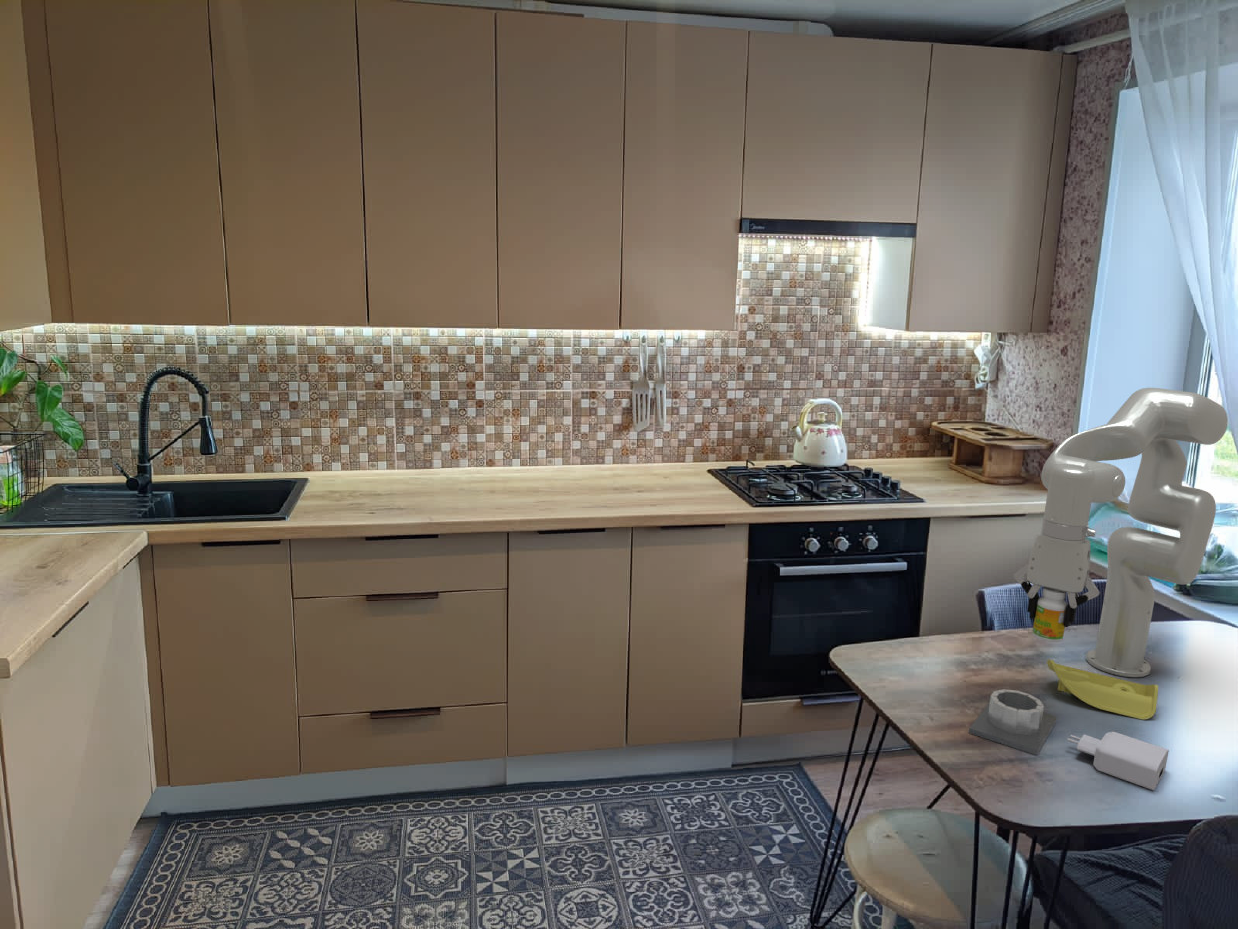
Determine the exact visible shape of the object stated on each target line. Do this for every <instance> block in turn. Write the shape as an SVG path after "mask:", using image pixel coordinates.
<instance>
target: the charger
mask: <svg viewBox="0 0 1238 929" xmlns="http://www.w3.org/2000/svg"><path fill="white" fill-rule="evenodd" d="M1074 739H1075V740H1074ZM1067 742H1071V743H1073V744H1076V745H1077V746H1076V750H1077V751H1079V752H1082V753H1084V754H1085V753H1086V754H1088V755H1090V756H1094V757H1093V758H1094V759H1093V767H1094V768H1095V769H1096V770H1097V771H1098V772H1101V773H1104V774H1106V775H1109V776H1113V777H1115V778H1118V779H1121V780H1123V781H1127V782H1129V783H1132V784H1134V785H1137V786H1140V787H1143V788H1146V789H1149V790H1151V791H1155V789H1157V786H1158V784H1159V782H1160V781H1161V778H1162V777H1163V775H1164V773H1165V771H1166V768H1167V762H1168V756H1169V751H1170V750H1169V749H1167V748H1164V747H1161V746H1157V745H1155V744H1151V743H1149V742H1146V741H1143V740H1140V739H1137V738H1133V737H1131V736H1129V735H1125V734H1122V733H1119V732H1117V731H1116V732H1115V731H1110V732H1106V733H1105V734H1104V735H1103V737H1102V738H1101V739H1098V738H1095V737H1093V736H1090V735H1087V734H1082V736H1081V737H1079V736H1075V735H1072V734H1070V735H1069V737H1068V738H1067Z"/></svg>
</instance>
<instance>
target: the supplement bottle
mask: <svg viewBox="0 0 1238 929" xmlns="http://www.w3.org/2000/svg"><path fill="white" fill-rule="evenodd" d="M1066 596H1067V592H1065V591H1060V590H1056V589H1051V588H1047V587H1043V588H1042V596H1039V597H1040V598H1039V599H1038V601H1037V606H1036V613H1035V618H1033V619H1034V620H1033V626H1032V635H1033V636H1034V637H1035V638H1036V639H1039V640H1041V641H1045V642H1049V643H1058V642H1059V643H1060V642H1062V641H1063V639H1064V633H1065V628H1066V627H1064V626H1063V625H1064V619H1065V613H1066V607H1067V606H1068V605H1069V603H1068V602H1067V601H1065V599H1066Z"/></svg>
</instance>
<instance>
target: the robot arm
mask: <svg viewBox="0 0 1238 929" xmlns="http://www.w3.org/2000/svg"><path fill="white" fill-rule="evenodd" d="M1228 423H1229V421H1228V413H1227V411H1226V409H1225V408H1224V407H1223V405H1221V404H1220V403H1218V402H1216V401H1215V400H1212V399H1210V398H1209V397H1206V396H1204V395H1202V394H1200V393H1196V392H1192V391H1191V392H1190V391H1183V390H1176V389H1167V388H1159V387H1145V388H1141V389H1138V390H1136V391H1134V392H1133V393H1131V395H1130V396H1129V397H1128V398H1127V399H1126V400H1125V401H1124V403H1123V404H1122V405H1121V406H1120V407H1119V409H1118V410H1117V411H1116V412H1115V413H1114V414H1113V416H1112V417H1111V418H1110V419H1109V421H1108V422H1107V423H1106V424H1103V425H1099V426H1095V427H1093V428H1090V429H1086V430H1083V431H1081V432H1079V433H1076V434H1072V435H1071V436H1068V437H1066V438H1065V439H1064V440H1063V441H1062V442H1060V443H1059V445H1058V446H1057V447H1056V448H1055V449H1054V450H1053V452H1052V453H1051V454H1050V455H1049V456H1048V458H1047V459H1046V461H1045V463H1044V464H1043V467H1042V470H1041V476H1040V477H1041V478H1040V479H1041V483H1042V486H1044V487H1045V488H1046V489H1047V494H1046V500H1045V505H1044V513H1043V519H1042V527H1041V530H1040V531H1038V532H1037V534H1036V537H1035V539H1034V542H1033V545H1032V549H1031V552H1030V555H1029V560H1028V564H1026V565H1025V566H1023V567H1022V568H1021V569H1019V570H1017V571H1015V573H1014V574H1013V578H1014V579H1015V580H1016V582H1018V584H1019V585H1020V586H1021V588H1022V589H1023V590H1024V592H1025V593H1026V595H1027V597H1028V598H1029V599H1028V603H1027V613H1029V619H1032V620H1033V619H1035V613H1036V606H1037V601H1038V599H1039V598H1040V597H1041V596H1040V595H1039V591H1040V589H1041V588H1042V587H1043V588H1044V587H1047V588H1051V589H1056V590H1060V591H1065V592H1066V595H1067V598H1068V606H1067V607H1066V613H1065V619H1064V625H1063V626H1064V627H1065V628H1069V626H1070V625H1071V624H1074V622H1075V621H1076V620H1075V619H1076V613H1077V608H1078V607H1079V606H1081V605H1083V604H1084V603H1085V604H1086V602H1088V601H1090V600H1092V599H1095V598H1097V597H1098V596H1099V595H1100V593H1101V592H1100V590H1099V589H1098V587H1097V586H1096V584H1095V583H1094V581H1093V580H1092V579H1091V577H1090V567H1091V541H1090V539H1088V538H1092V537H1093V538H1095V537H1096V534H1097V532H1096V531H1097V530H1096V529H1092V528H1090V523H1089V521H1090V520H1089V519H1090V515H1091V513H1090V512H1091V508H1092V506H1091V505H1092V504H1094V503H1095V504H1106V503H1111V502H1113V501H1115V500H1117V499H1118V498H1119V497H1120V496H1121V495H1122V493H1123V492H1124V490H1125V486H1126V477H1125V474H1124V471H1123V470H1121V468H1119V467H1118V466H1116V465H1114V464H1111V463H1106V462H1105V461H1107V462H1108V461H1117V460H1118V461H1119V460H1124V459H1132V458H1134V457H1138V456H1140V455H1141V460H1140V464H1139V467H1138V470H1137V474H1136V477H1135V480H1134V484H1133V486H1132V490H1131V493H1130V497H1129V500H1128V501H1129V502H1128V507H1127V508H1128V510H1127V511H1128V514H1129V516H1130V517H1131V518H1133V520H1135V521H1138V522H1140V523H1143V524H1148V525H1151V526H1152V525H1153V526H1156V527H1159V528H1164V529H1169V530H1173V531H1178V532H1179V537H1178V536H1172V535H1168V534H1164V533H1161V532H1157V531H1152V530H1148V529H1145V528H1139V527H1133V526H1125V527H1124V526H1123V527H1120V528H1117V529H1115V530H1114V531H1113V532H1112V533H1111V534H1110V536H1109V538H1108V541H1107V549H1106V553H1107V573H1106V574H1107V575H1106V584H1105V590H1104V595H1103V596H1104V598H1103V604H1102V609H1101V615H1100V620H1099V627H1098V628H1099V629H1098V633H1097V639H1096V646H1095V648H1094V649H1091V650H1089V651H1088V652H1087V653H1086V656H1085V658H1086V661H1087V662H1088V663H1089V664H1090V665H1091V666H1092V667H1094V668H1096V669H1098V670H1100V671H1102V672H1106V673H1108V674H1111V675H1114V674H1115V676H1119V677H1120V676H1121V677H1125V678H1143V677H1146V676H1148V675H1149V674H1151V667H1152V666H1151V664H1150V663H1149V662H1147V661H1146V660H1145V656H1146V650H1147V644H1148V639H1149V638H1148V637H1149V632H1150V628H1151V622H1152V616H1153V610H1154V605H1155V598H1156V594H1155V589H1154V585H1153V584H1152V582H1151V580H1150V579H1151V578H1154V579H1157V580H1161V581H1163V582H1164V581H1165V582H1169V583H1172V584H1176V585H1189V584H1190V583H1192V582H1193V581H1195V579H1196V578H1197V575H1198V574H1199V571H1200V569H1201V566H1202V563H1203V559H1204V556H1205V553H1206V549H1207V546H1208V542H1209V539H1210V535H1211V533H1212V529H1213V526H1214V522H1215V518H1216V512H1217V510H1216V509H1217V505H1216V503H1217V502H1216V500H1215V497H1214V496H1213V495H1212V494H1211V493H1210V492H1209V491H1207V490H1203V489H1200V488H1196V487H1190V486H1186V485H1183V481H1184V480H1183V479H1184V477H1185V472H1186V470H1187V465H1188V463H1187V458H1186V456H1185V453H1184V451H1183V449H1182V447H1181V446H1180V444H1179V443H1178V441H1180V442H1187V443H1193V444H1199V445H1205V446H1206V445H1207V446H1208V445H1209V446H1210V445H1214V444H1216V443H1218V442H1219V441H1221V439H1222V438H1223V437H1224V435H1225V433H1226V432H1227V429H1228ZM1025 575H1026V577H1025ZM1085 588H1086V589H1087V592H1085V593H1083V594H1081V595H1079V594H1080V593H1082V592H1083V590H1084V589H1085Z"/></svg>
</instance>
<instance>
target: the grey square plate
mask: <svg viewBox="0 0 1238 929" xmlns="http://www.w3.org/2000/svg"><path fill="white" fill-rule="evenodd" d="M1044 708H1045V706H1044V704H1043V702H1042V701H1041V700H1040V699H1039V698H1037V697H1035V696H1034V695H1032V694H1030V693H1027V692H1023V691H1020V690H1014V689H1013V690H1012V689H1005V688H1003V689H999V690H994V691H993V692H992V693H991V695H990V697H989V702H988V703H987V705H986V706H985V707H984V708H983V710H982V711H981V712H980V714H979V715H978V716H977V718H975V720H974V721H973V723H972V724H970V725H971V726H969V728H968V734H970V733H971V734H970V735H974V736H975V737H979V736H980V738H983V739H986V740H988V739H989V741H992V742H995V743H998V744H1000V743H1001V745H1004V746H1007V747H1009V748H1014V749H1016V750H1019V751H1023V752H1024V753H1025V752H1026V753H1028V754H1030V755H1034V756H1038V754H1039V752H1040V750H1041V749H1042V747H1043V745H1044V744H1045V742H1046V740H1047V738H1048V737H1049V736H1050V734H1051V731H1052V730H1053V729H1054V727H1055V724H1056V723H1057V720H1058V716H1055V715H1053V714H1049V713H1046V712H1044Z"/></svg>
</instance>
